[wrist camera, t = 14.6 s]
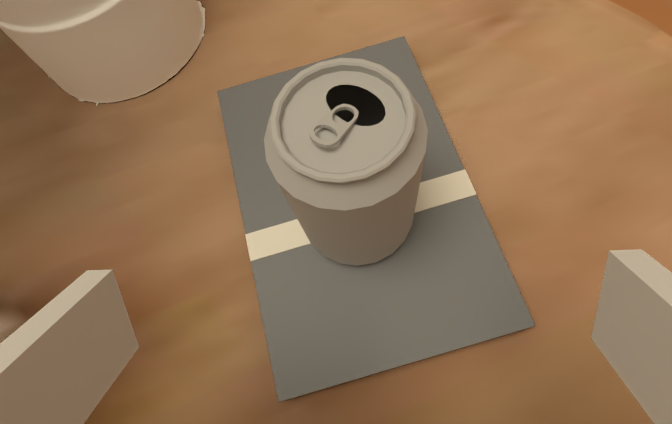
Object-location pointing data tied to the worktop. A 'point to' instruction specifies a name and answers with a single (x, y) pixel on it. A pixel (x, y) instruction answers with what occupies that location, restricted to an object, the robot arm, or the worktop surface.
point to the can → (348, 157)
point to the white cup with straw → (106, 42)
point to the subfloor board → (375, 278)
